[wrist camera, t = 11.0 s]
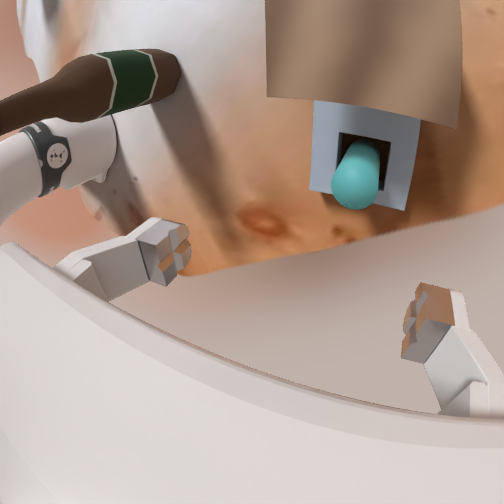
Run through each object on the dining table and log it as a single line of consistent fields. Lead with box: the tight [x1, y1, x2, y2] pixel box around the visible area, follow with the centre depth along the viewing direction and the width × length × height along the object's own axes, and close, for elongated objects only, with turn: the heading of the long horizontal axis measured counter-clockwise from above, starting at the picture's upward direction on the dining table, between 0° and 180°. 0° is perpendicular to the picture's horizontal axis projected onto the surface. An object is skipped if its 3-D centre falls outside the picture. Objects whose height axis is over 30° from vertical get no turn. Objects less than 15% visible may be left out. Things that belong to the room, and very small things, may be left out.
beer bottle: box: [0, 49, 181, 136], centre depth 21 cm, size 8×8×24 cm
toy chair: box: [265, 0, 462, 130], centre depth 14 cm, size 12×12×14 cm
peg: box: [331, 139, 380, 210], centre depth 22 cm, size 4×4×10 cm
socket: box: [309, 100, 421, 211], centre depth 23 cm, size 10×16×3 cm, turn 1°
